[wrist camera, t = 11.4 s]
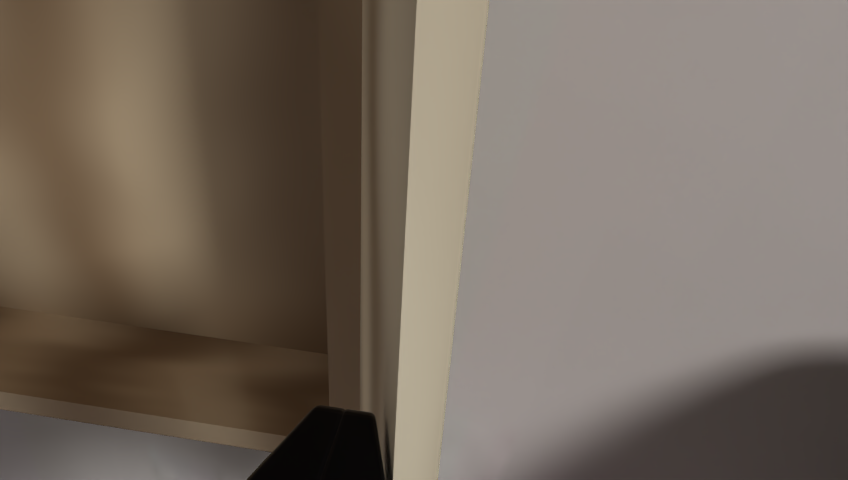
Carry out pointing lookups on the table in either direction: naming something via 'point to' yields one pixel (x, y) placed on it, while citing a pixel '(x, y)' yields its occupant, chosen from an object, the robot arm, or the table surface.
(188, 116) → the carton
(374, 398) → the flap
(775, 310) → the table surface
